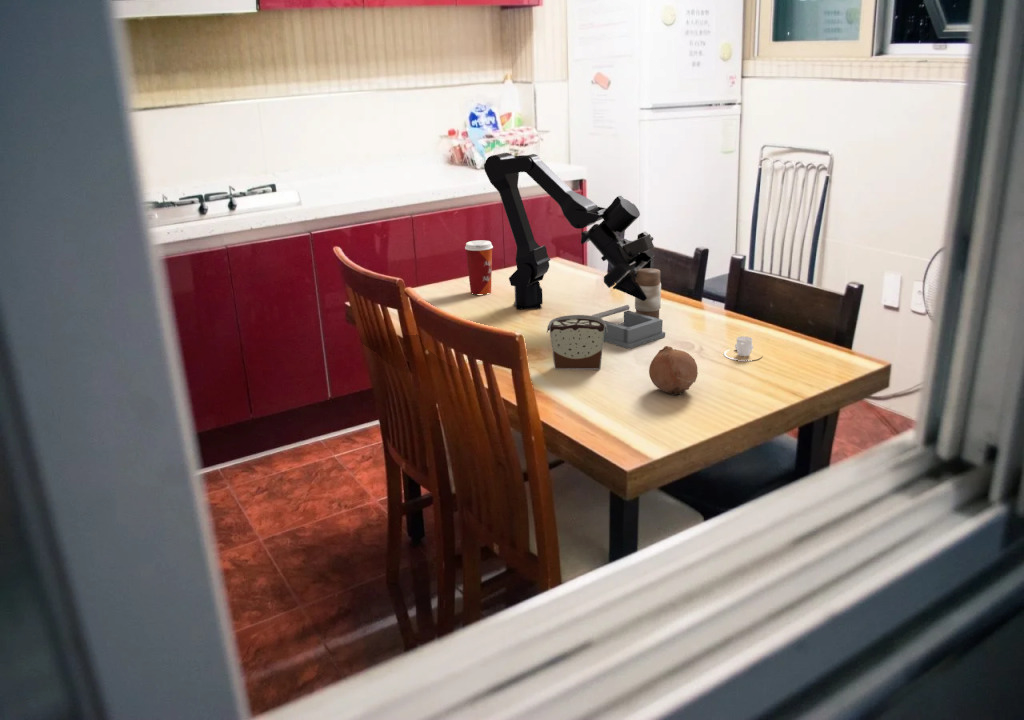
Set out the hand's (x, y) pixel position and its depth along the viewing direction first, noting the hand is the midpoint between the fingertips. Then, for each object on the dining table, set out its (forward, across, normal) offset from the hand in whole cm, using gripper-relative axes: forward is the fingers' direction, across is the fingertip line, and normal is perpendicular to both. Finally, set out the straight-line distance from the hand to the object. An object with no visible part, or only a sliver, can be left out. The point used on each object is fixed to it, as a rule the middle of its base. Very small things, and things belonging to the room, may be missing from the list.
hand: (652, 294), depth 196 cm
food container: (+2, -33, +7) cm, 34 cm away
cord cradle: (+4, -12, +6) cm, 14 cm away
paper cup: (-32, +6, +42) cm, 53 cm away
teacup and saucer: (+25, -12, -14) cm, 31 cm away
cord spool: (+4, 0, +6) cm, 7 cm away
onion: (+19, -39, -9) cm, 44 cm away
